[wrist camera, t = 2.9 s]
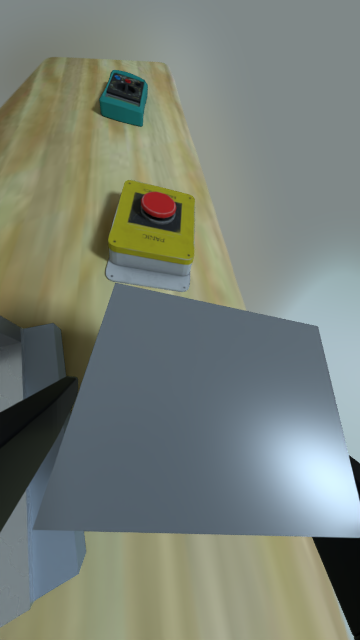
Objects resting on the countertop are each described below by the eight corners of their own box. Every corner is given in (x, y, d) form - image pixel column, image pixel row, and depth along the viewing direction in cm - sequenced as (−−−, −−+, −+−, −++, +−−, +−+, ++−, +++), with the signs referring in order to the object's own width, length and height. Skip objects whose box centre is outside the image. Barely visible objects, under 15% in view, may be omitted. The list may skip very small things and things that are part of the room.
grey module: (193, 431, 15) (368, 538, 3) (119, 423, 14) (31, 529, 3) (197, 373, 17) (316, 321, 5) (133, 363, 16) (117, 277, 5)
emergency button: (199, 179, 23) (199, 271, 17) (190, 211, 27) (188, 295, 20) (125, 158, 21) (95, 252, 15) (127, 196, 25) (104, 282, 19)
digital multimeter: (147, 99, 39) (148, 77, 36) (142, 131, 33) (142, 108, 30) (112, 88, 38) (110, 65, 35) (101, 120, 32) (97, 94, 29)
